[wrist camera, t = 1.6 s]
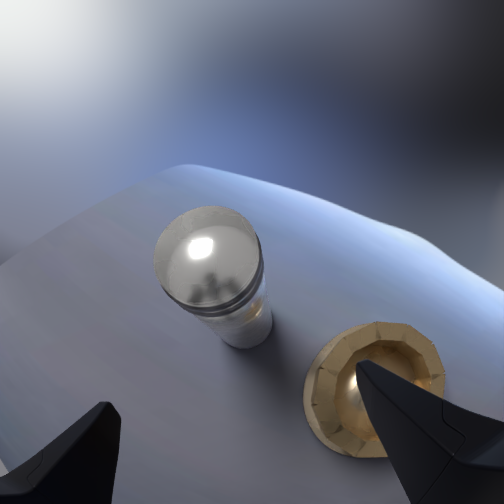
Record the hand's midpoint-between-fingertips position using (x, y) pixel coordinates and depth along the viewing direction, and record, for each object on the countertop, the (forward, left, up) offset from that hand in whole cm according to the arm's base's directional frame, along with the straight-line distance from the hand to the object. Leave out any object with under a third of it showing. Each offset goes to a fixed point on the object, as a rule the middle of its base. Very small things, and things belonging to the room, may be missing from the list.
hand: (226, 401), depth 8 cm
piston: (+6, -1, -12) cm, 13 cm away
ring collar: (-3, -8, -12) cm, 15 cm away
